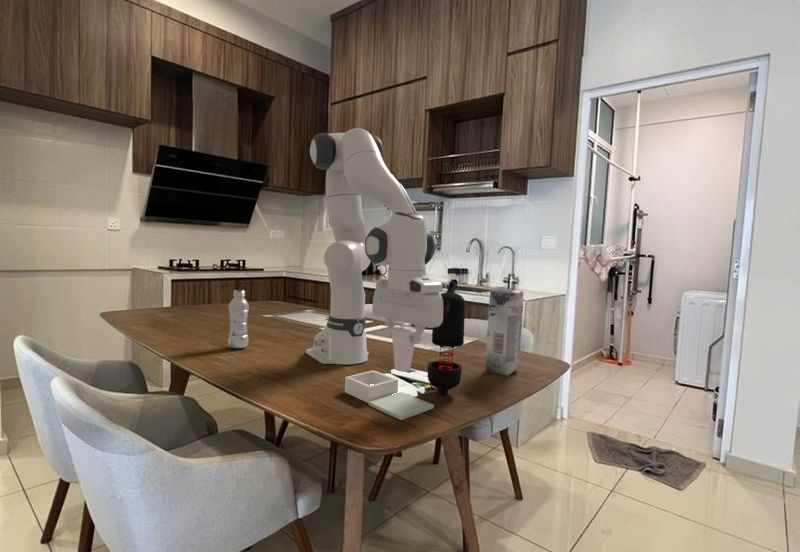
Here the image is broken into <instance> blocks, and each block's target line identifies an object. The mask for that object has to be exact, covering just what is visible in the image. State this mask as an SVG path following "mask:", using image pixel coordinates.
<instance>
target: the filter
mask: <svg viewBox="0 0 800 552" xmlns="http://www.w3.org/2000/svg"><path fill="white" fill-rule="evenodd" d="M448 284H449V285H448V287H447V290H446V292H445V291H444V292H440V293H439V294H440V295H441V296H442V299H443V322H442V324H441V325H440V326H439V327H434V328H432V331H431V334H432V335H431V343H432V344H433V345H435V346H439V353H438V355H439V357H441V356H442V358H439V359H438V360H432V361H429V362H427V381H428V382H429V384H430V385H431V386H433V387H434V388H436V389H437V390H438V394H439V395H442V396H446V395H448V394H449V390H451V389H454V388H456V387H457V386H458V385H460V382H461V377H462V376H461V375H462V369H463V366H462V364H460V363H457V362H454V360H453V358H454V357H453V356H454V353H453V352H454V348H459V347H462V346H464V344H465V343H464V342H465V339H464V338H465V319H466V318H465V317H466V300H465V298H464V297H463V296H462V295H460V294H459V293H457V292H456V289H457V287H458V280H457V279H455V278H453V279H451V280H450V281H449V283H448ZM442 349H444V350H445V349H447V350H451V352H450V351H441V350H442ZM444 357H448V358H444ZM450 357H451V359H449V358H450Z"/></svg>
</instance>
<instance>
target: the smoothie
mask: <svg viewBox="0 0 800 552" xmlns="http://www.w3.org/2000/svg"><path fill="white" fill-rule="evenodd" d="M404 323H405V322H401V321H400V325H397V326H396V327H392V328H391V333H392V337H391V339H392V352H393V364H394V370H395V371H398V372H409V371H411V368H412V362H413V356H414V350H415V345H416V344H414V343H411V336H413V335H414V333H415V331H416V329H414V326H404Z"/></svg>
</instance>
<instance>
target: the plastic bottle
mask: <svg viewBox="0 0 800 552" xmlns="http://www.w3.org/2000/svg"><path fill="white" fill-rule="evenodd" d="M232 296H233V298H232V299H231V301H230V302H229V304H228V312H229V321H230V323H229V335H228V339H227V343H228V346H229V348H231V349H238V350H239V349H244V348H246V347H248V345H249V335H248V314H249V308H250V305H249V303H248V301H247V299H246V298H245V296H246V290H245V289H244V290H243V289H235V290H233V294H232Z"/></svg>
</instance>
